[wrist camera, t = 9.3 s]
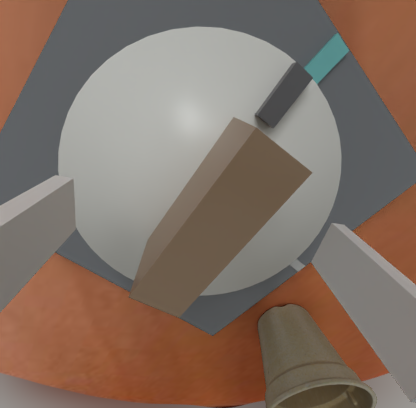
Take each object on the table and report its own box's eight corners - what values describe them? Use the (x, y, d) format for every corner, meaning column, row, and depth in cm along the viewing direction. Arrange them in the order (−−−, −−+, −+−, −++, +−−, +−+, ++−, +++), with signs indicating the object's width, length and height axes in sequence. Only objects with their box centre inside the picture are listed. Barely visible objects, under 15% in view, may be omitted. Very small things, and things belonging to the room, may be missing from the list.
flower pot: (254, 288, 24) (284, 382, 16) (334, 294, 25) (399, 385, 17) (236, 343, 27) (252, 440, 20) (306, 346, 29) (348, 438, 21)
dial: (226, 308, 21) (239, 387, 15) (33, 219, 16) (-59, 289, 10) (380, 157, 15) (494, 192, 10) (155, -61, 10) (104, -274, 4)
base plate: (-12, 192, 17) (-41, 205, 15) (181, -162, 10) (178, -227, 8) (211, 318, 25) (213, 338, 23) (405, 165, 18) (432, 174, 16)
